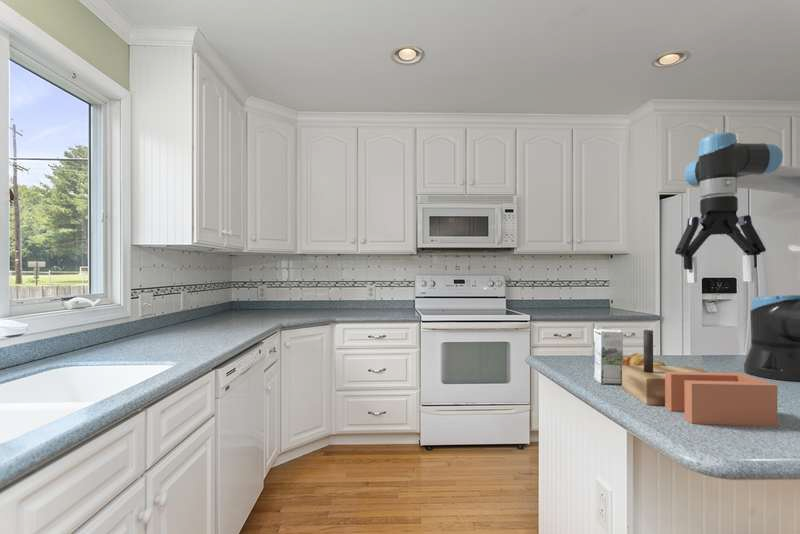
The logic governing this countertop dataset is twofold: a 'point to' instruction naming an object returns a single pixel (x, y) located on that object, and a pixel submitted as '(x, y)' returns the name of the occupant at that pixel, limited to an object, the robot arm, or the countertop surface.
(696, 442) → the countertop surface
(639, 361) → the croissant
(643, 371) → the stand
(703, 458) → the countertop surface
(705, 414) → the c link
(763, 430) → the countertop surface
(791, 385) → the countertop surface
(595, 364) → the syrup box
